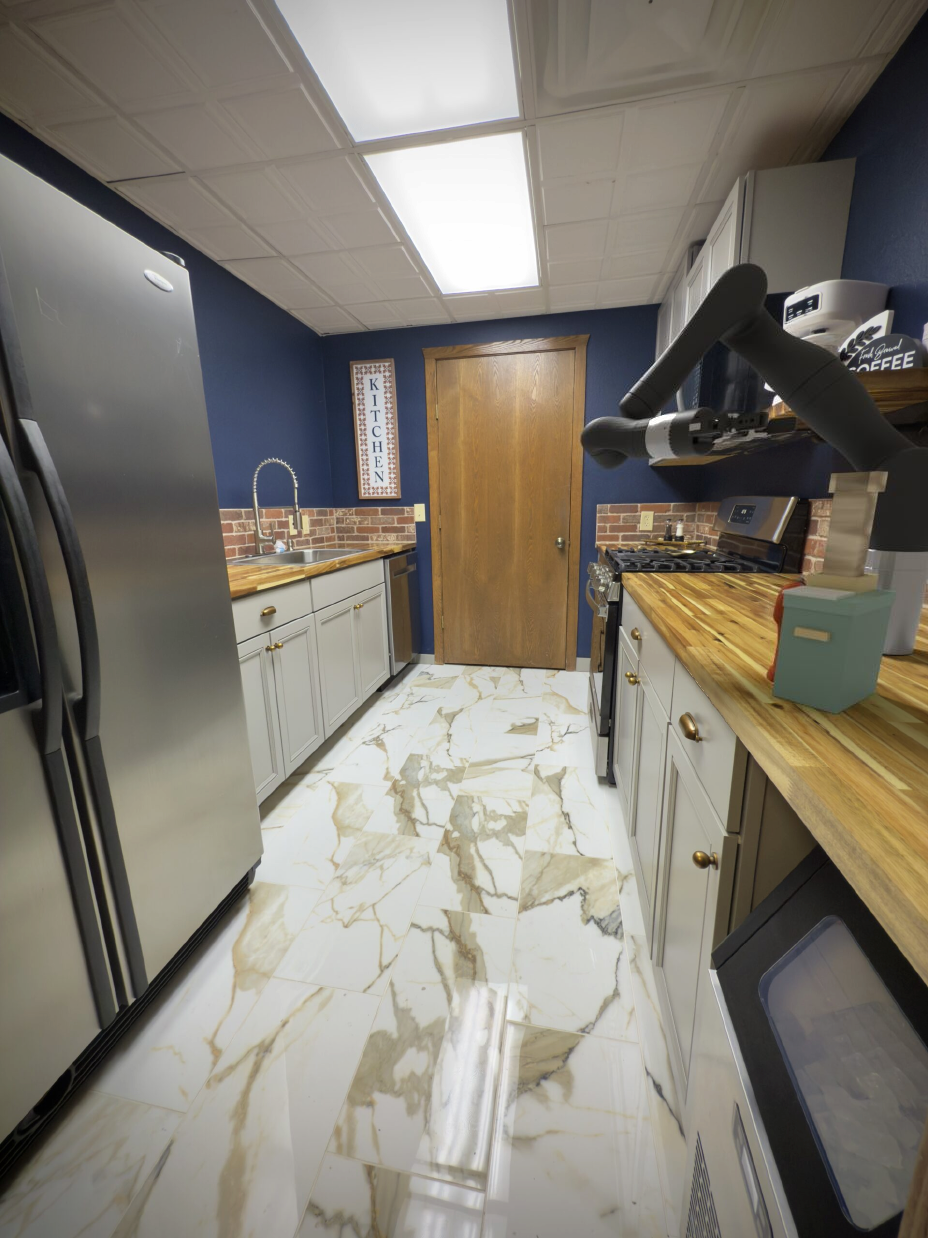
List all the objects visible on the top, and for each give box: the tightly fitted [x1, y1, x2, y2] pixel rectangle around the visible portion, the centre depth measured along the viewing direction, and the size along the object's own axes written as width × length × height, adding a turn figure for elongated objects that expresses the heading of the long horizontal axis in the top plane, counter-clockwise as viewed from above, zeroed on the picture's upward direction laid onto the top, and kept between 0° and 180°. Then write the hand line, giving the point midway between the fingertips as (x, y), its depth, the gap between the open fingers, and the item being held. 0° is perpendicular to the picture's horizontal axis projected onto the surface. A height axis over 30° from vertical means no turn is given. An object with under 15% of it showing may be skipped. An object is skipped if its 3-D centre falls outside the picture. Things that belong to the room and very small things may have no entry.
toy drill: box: [766, 576, 806, 684], centre depth 75 cm, size 5×19×15 cm, turn 142°
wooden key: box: [821, 471, 888, 578], centre depth 64 cm, size 4×5×15 cm
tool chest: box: [771, 570, 896, 715], centre depth 65 cm, size 14×8×16 cm, turn 123°
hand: (782, 421), depth 70 cm, fingers open, 8 cm apart
